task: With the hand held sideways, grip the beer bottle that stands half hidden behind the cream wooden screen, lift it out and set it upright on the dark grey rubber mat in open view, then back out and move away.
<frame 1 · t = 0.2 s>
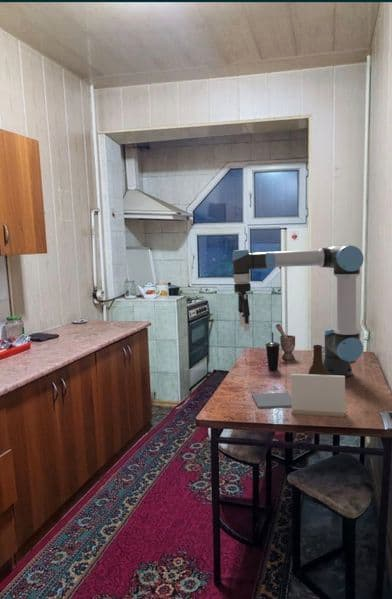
hand: (244, 328, 213), 28 cm above the table, tool pointing down, fingers open, 13 cm apart
drinking cup: (273, 369, 243), on the table
beer bottle: (317, 402, 192), on the table
mortar and pestle: (285, 358, 266), on the table
dish: (332, 359, 262), on the table
screen: (317, 412, 179), on the table
mat: (273, 400, 194), on the table
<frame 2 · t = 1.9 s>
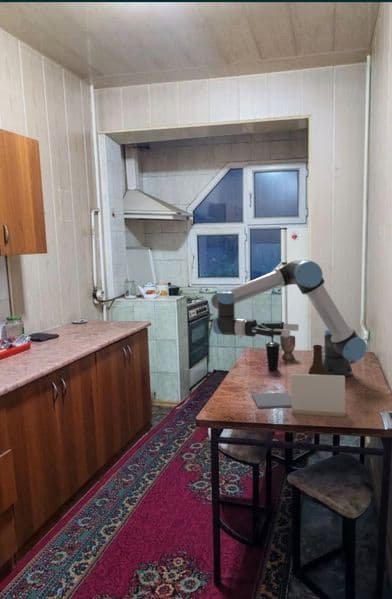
hand: (294, 330, 193), 30 cm above the table, tool horizontal, fingers open, 13 cm apart
nothing on the table moved.
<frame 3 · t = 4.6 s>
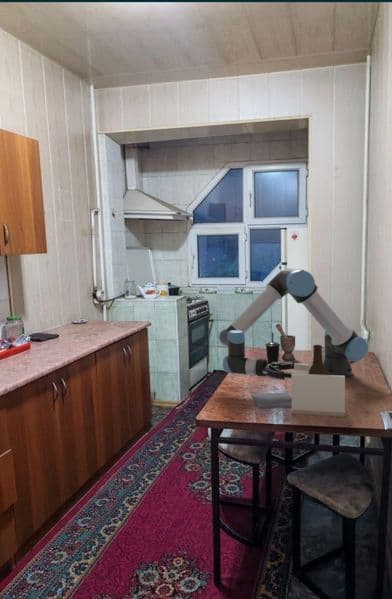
hand: (305, 371, 192), 12 cm above the table, tool horizontal, fingers open, 13 cm apart
nothing on the table moved.
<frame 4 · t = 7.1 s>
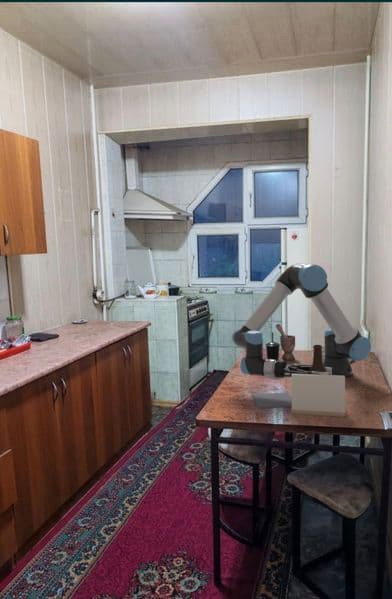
hand: (329, 373, 188), 13 cm above the table, tool horizontal, fingers closed on beer bottle, 7 cm apart
beer bottle: (317, 401, 192), on the table, touching gripper
everything else where it was.
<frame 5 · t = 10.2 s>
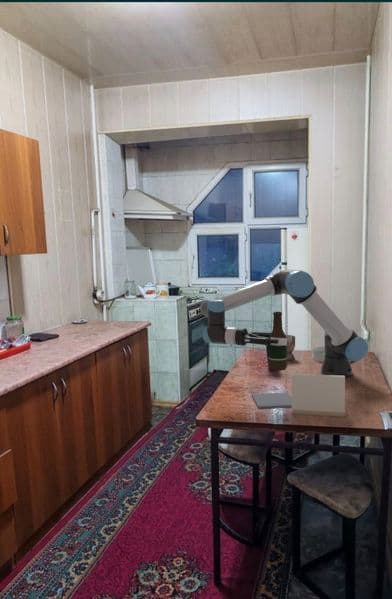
hand: (289, 340, 188), 27 cm above the table, tool horizontal, fingers closed on beer bottle, 7 cm apart
beer bottle: (277, 369, 192), point 14 cm above the table, touching gripper
everything else where it was.
when the fingers open (15 cm above the table, at t = 13.3 s): beer bottle drops 1 cm, resting on mat.
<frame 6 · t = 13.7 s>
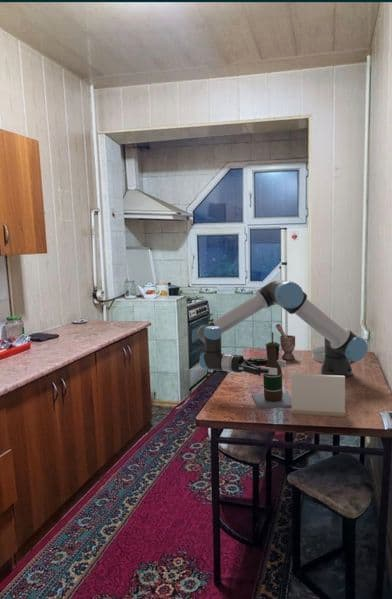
hand: (281, 367, 191), 15 cm above the table, tool horizontal, fingers open, 12 cm apart
beer bottle: (273, 399, 194), point 1 cm above the table, touching mat
everything else where it was.
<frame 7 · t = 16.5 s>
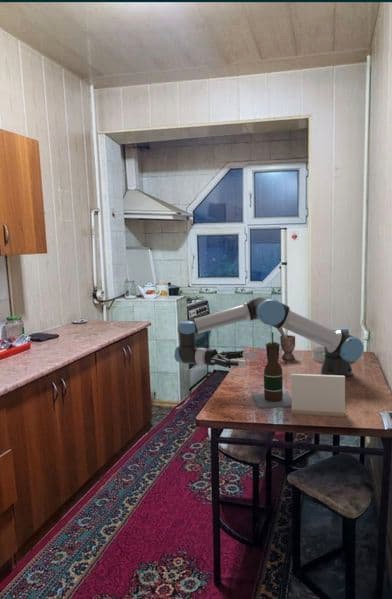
hand: (251, 360, 197), 17 cm above the table, tool horizontal, fingers open, 13 cm apart
nothing on the table moved.
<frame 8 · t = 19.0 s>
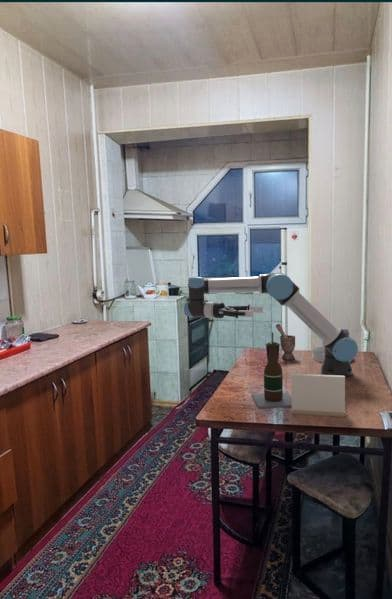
hand: (257, 311, 207), 36 cm above the table, tool horizontal, fingers open, 13 cm apart
nothing on the table moved.
at the end: beer bottle inside the target area on the mat (0.1 cm from its centre), point 0.6 cm above the mat's base; beer bottle tilted 0°; the gripper is holding nothing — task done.
